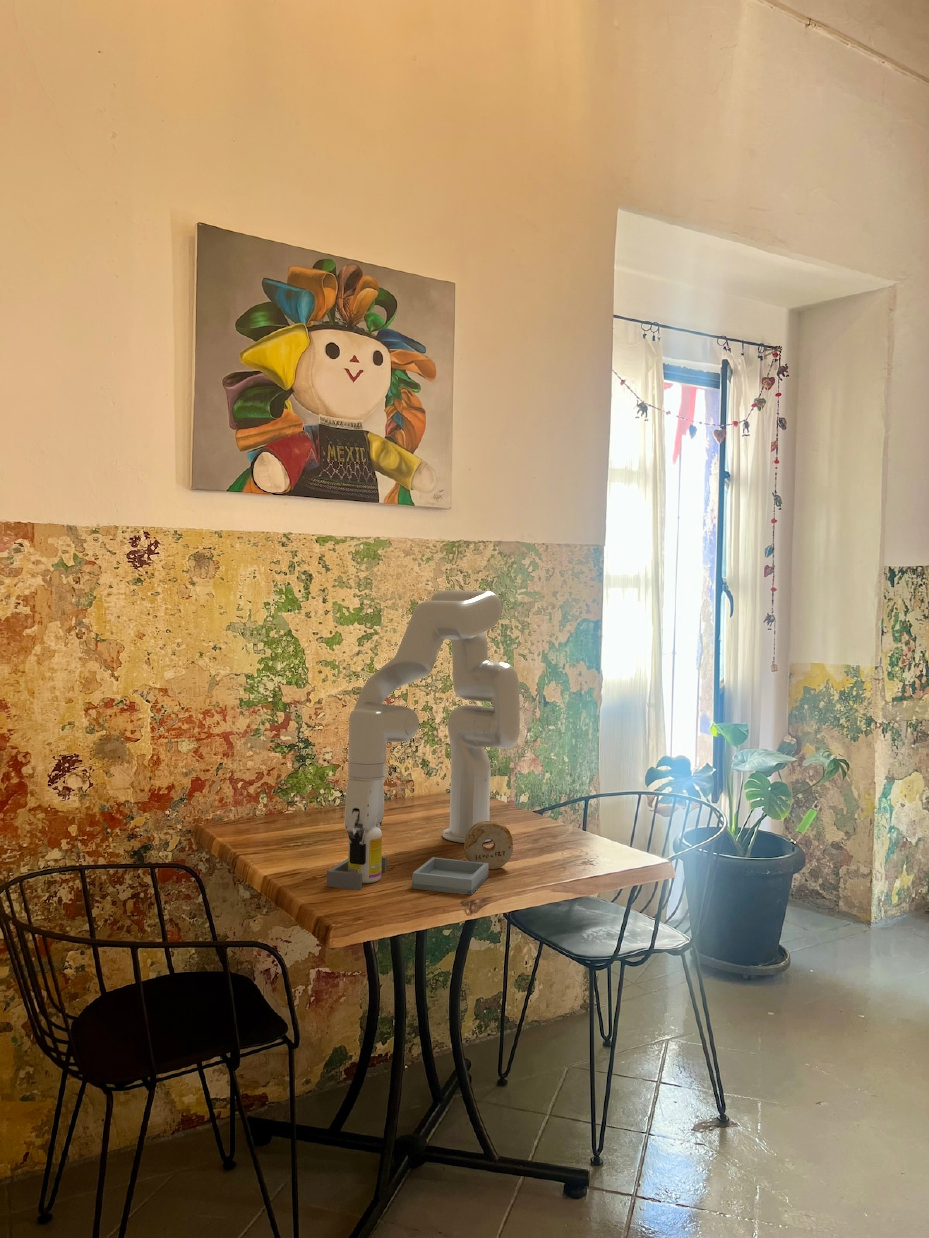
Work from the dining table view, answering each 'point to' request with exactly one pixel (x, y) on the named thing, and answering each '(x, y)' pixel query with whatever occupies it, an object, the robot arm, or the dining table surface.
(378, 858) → the supplement bottle
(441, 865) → the tray
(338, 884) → the bay
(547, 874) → the dining table surface
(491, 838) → the stone disc
